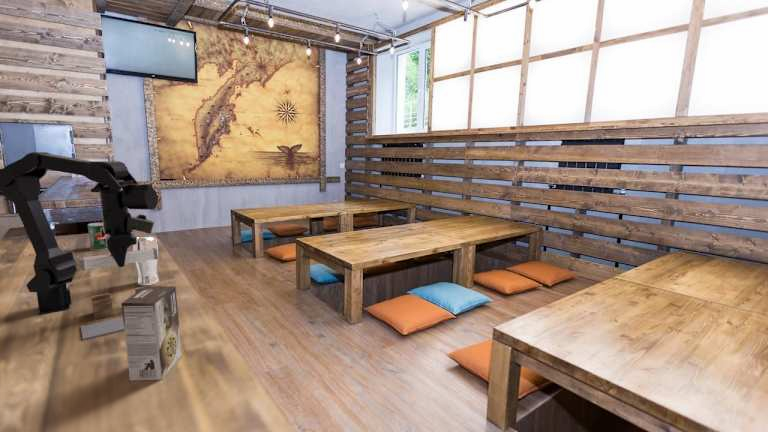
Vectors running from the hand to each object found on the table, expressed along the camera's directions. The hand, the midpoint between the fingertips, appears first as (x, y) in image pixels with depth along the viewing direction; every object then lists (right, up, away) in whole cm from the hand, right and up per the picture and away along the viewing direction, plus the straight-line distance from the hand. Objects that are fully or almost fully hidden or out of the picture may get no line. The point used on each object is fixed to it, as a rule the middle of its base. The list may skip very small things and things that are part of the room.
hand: (120, 265), depth 105 cm
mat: (+7, -14, -6) cm, 16 cm away
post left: (-4, -13, -1) cm, 14 cm away
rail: (0, +1, 0) cm, 1 cm away
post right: (+4, -12, +5) cm, 14 cm away
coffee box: (+25, -18, -26) cm, 40 cm away
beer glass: (-7, -9, +24) cm, 26 cm away
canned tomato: (-54, -1, +66) cm, 85 cm away
